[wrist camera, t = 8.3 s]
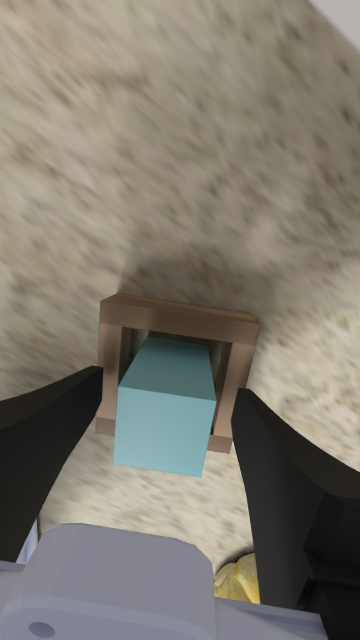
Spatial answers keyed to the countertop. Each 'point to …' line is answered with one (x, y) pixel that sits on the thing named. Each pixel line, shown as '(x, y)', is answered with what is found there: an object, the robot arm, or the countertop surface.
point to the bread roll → (238, 580)
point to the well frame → (180, 320)
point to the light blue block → (165, 408)
